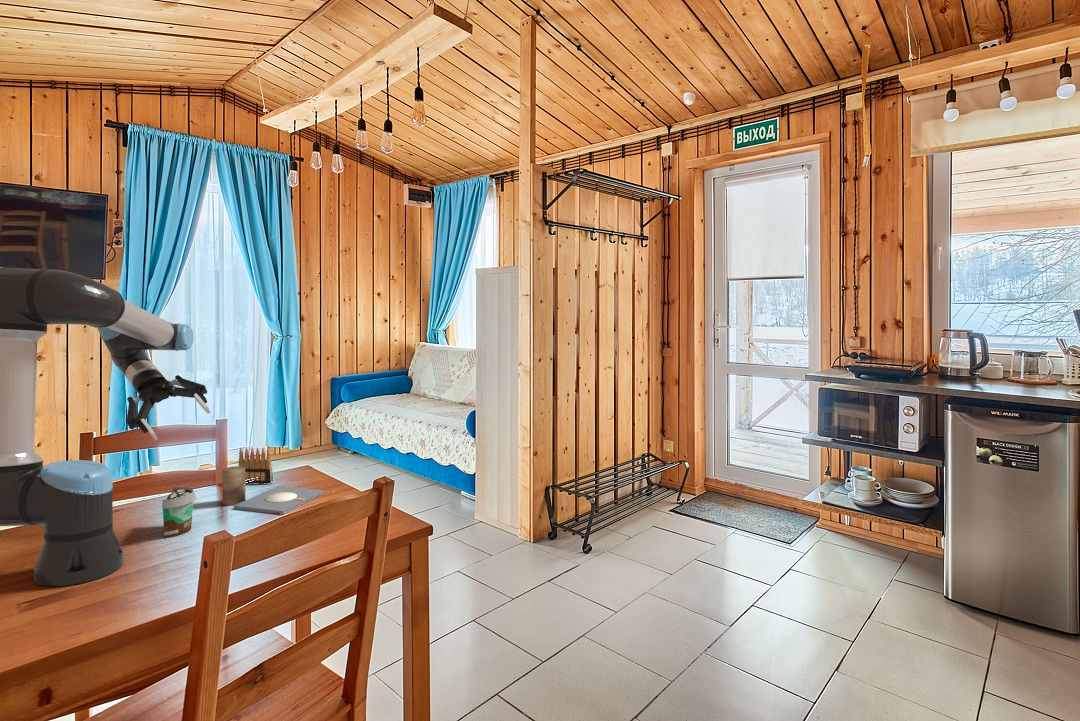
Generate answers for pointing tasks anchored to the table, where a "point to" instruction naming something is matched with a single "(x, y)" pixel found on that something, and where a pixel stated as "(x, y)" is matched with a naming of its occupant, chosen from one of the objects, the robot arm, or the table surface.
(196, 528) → the table surface
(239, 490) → the brown cylinder
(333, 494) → the table surface
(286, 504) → the seat board
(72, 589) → the table surface
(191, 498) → the food container
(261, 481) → the ammunition clip
